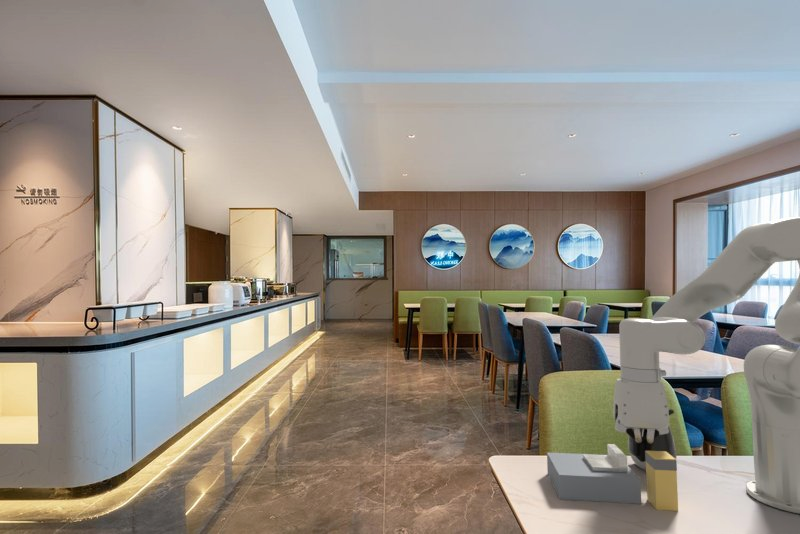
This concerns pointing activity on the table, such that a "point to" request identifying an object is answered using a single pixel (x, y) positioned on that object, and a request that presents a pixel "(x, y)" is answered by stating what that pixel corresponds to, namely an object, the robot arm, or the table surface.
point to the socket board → (591, 481)
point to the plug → (661, 480)
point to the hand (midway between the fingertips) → (642, 459)
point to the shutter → (608, 460)
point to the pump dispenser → (655, 445)
